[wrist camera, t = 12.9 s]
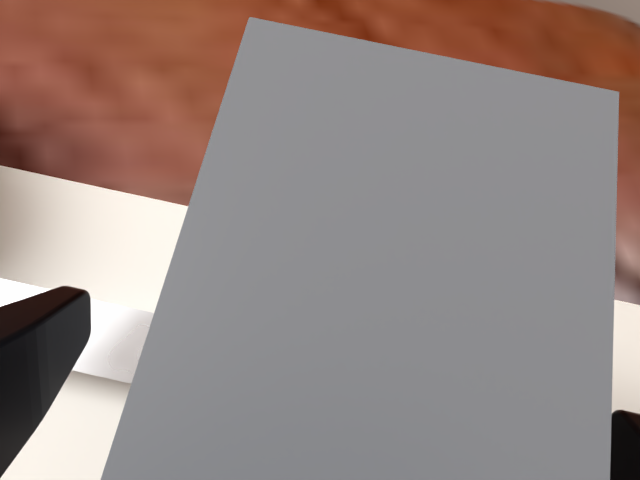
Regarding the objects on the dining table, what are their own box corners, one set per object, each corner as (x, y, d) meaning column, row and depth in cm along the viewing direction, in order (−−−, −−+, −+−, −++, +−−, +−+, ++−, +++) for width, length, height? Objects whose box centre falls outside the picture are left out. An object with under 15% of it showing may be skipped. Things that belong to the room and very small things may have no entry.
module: (362, 506, 15) (617, 876, 3) (239, 477, 15) (19, 729, 3) (393, 319, 17) (629, 94, 5) (283, 295, 17) (248, 17, 5)
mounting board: (747, 669, 15) (778, 686, 14) (-167, 458, 15) (-197, 461, 15) (730, 334, 18) (754, 330, 17) (-26, 169, 19) (-43, 156, 18)
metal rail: (701, 511, 15) (753, 524, 14) (-65, 338, 16) (-109, 329, 14) (699, 442, 16) (748, 445, 14) (-37, 277, 16) (-76, 261, 15)
